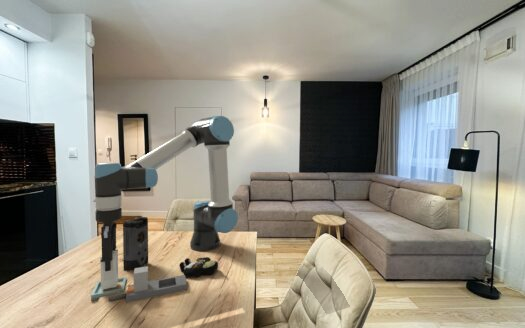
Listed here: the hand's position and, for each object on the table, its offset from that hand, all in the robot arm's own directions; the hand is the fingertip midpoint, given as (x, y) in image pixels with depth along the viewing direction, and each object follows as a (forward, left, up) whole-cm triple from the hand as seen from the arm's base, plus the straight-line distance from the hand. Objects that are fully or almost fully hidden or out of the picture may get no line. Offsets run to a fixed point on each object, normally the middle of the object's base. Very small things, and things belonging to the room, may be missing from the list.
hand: (109, 275), depth 82 cm
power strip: (-12, +8, -5) cm, 16 cm away
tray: (0, 0, -5) cm, 5 cm away
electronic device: (-7, -16, -5) cm, 18 cm away
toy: (-30, 0, -6) cm, 31 cm away
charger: (0, 0, -3) cm, 3 cm away
